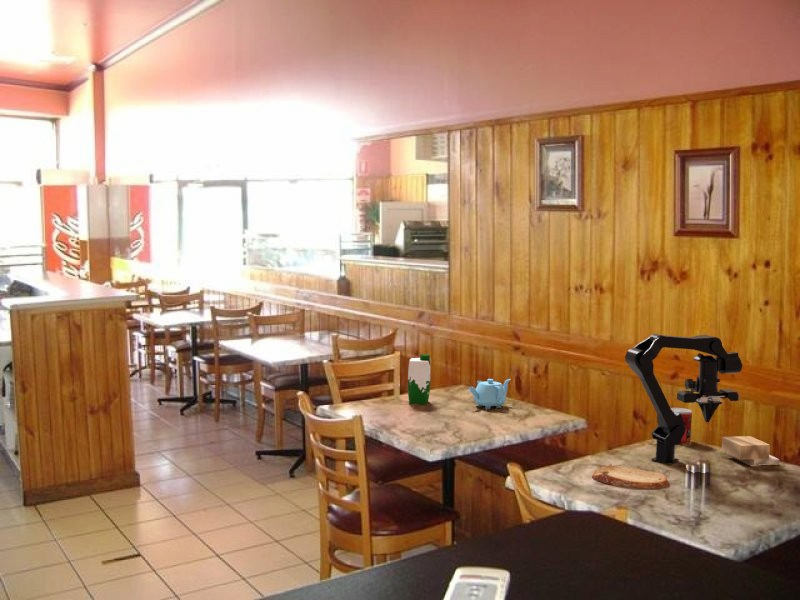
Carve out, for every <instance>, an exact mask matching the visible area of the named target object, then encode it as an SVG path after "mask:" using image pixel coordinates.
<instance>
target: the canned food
mask: <svg viewBox="0 0 800 600" xmlns="http://www.w3.org/2000/svg"><path fill="white" fill-rule="evenodd" d="M670 408H671V410H673V411H675V412H678V413H680V414H681V416H682V418H683V421H684V422H685V423H686V425H685V428H686V431H685V434H684V435H683V437H682V439H681V442H680V444H688V443H687V442H689V443H690V442H691V440H692V439H691V437H692V436H691V435H692V418H693V411H692V410H691V409H690V408H689V409H688V408H684V407H683V408H682V407H670Z"/></svg>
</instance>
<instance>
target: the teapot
mask: <svg viewBox="0 0 800 600" xmlns="http://www.w3.org/2000/svg"><path fill="white" fill-rule="evenodd" d="M476 381H477V382H476V384H477V385H476V388H474V386H470V387H469V388H468V391H469V392H470V393H471V394H472V396H473V401H474V402H475V404H476V405H477V407H484V409H485V410H490V409H491V407H495V408H497V409H501V408H503V407H502V406H503V405H505V403H506V401H507V394H508V387H509V386H508V384H509V382H510V381H511V378H508V379H505V380H504V383H503V384H502V383H501V382H498V381H494V379H493V378H488V379H487V381H482V380H476Z"/></svg>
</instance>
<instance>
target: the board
mask: <svg viewBox="0 0 800 600" xmlns="http://www.w3.org/2000/svg"><path fill="white" fill-rule="evenodd" d="M728 455H729V457H730V456H731V458H732V457H733V459H734V458H735V459H734V460H736V459H737V461H738V460H739V462H740V461H742V462H744V463H746V464H748V465H759V464H779V465H780V459H779V458H777V457H776V456H774V455H771V454H769V459H744V460H740V459H738V458H736V457H734V456H732V455H730V454H728V453H727V456H728ZM742 462H741V463H742ZM744 463H743V464H744ZM746 464H745V465H746ZM748 465H747V466H748Z"/></svg>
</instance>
